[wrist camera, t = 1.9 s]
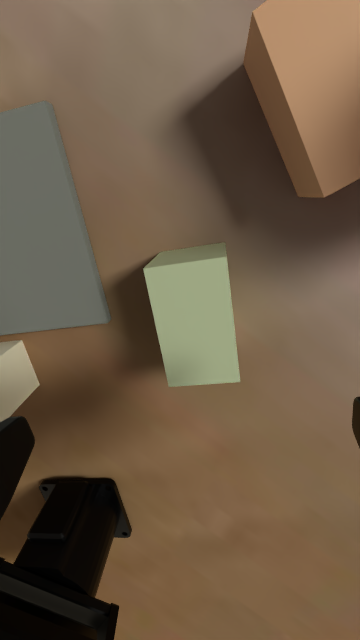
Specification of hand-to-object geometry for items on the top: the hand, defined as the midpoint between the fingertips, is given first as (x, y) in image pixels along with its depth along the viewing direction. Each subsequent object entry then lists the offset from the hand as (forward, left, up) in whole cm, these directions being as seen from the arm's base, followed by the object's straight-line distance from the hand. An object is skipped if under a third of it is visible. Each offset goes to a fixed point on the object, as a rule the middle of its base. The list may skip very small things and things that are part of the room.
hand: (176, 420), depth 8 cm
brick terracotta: (+8, -6, -10) cm, 14 cm away
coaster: (+5, +11, -10) cm, 15 cm away
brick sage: (0, 0, -10) cm, 10 cm away
